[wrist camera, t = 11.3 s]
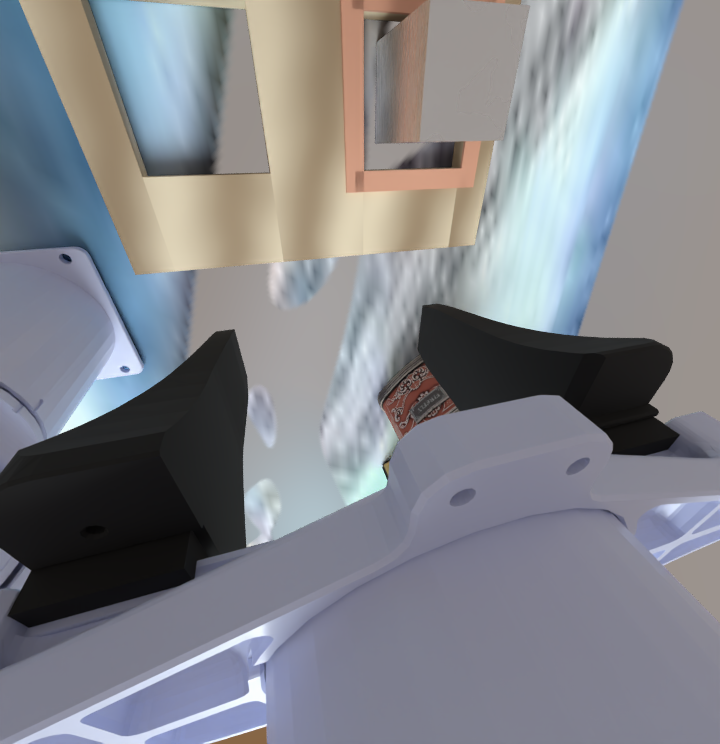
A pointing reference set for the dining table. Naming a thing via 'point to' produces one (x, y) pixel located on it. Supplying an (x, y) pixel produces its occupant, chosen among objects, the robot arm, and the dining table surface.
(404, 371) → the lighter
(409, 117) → the steel peg
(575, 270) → the dining table surface
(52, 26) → the rail
